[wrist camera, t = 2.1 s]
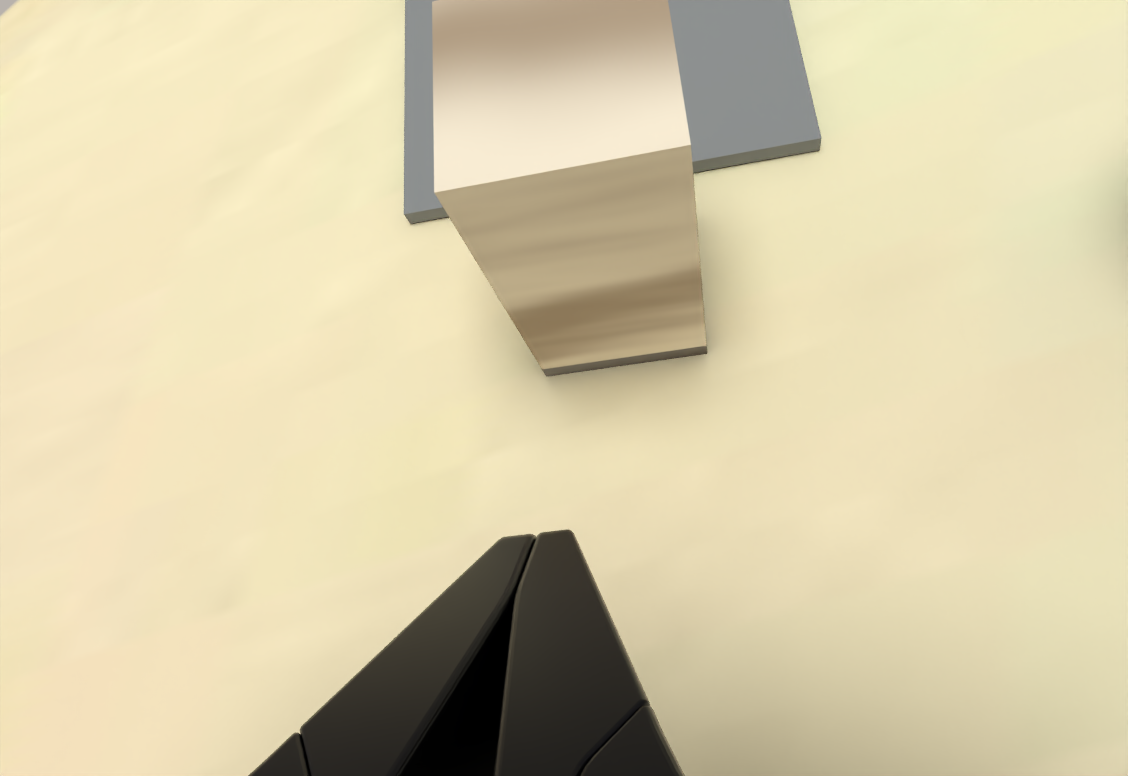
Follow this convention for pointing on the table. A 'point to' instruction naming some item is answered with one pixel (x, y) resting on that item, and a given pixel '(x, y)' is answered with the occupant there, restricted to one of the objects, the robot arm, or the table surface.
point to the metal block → (572, 174)
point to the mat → (708, 78)
